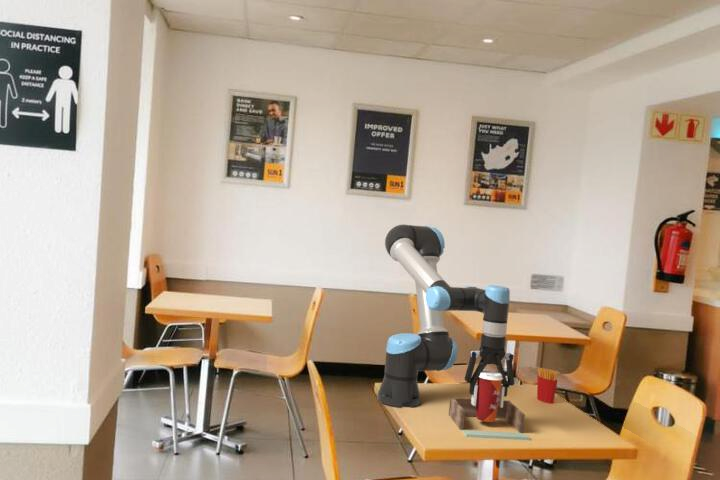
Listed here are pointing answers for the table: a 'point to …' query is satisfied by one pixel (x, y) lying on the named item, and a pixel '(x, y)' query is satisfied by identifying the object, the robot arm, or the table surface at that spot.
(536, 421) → the table surface
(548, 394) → the french fries
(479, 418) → the coffee cup
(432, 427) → the table surface
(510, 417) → the crate
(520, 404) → the table surface
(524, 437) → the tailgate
